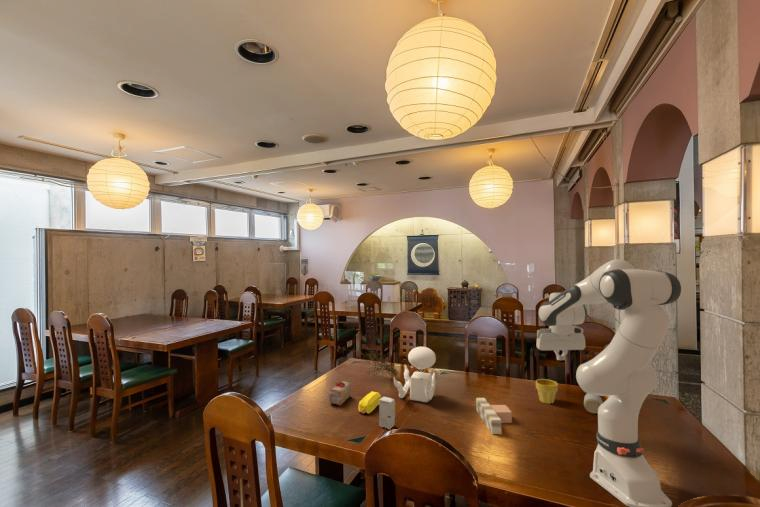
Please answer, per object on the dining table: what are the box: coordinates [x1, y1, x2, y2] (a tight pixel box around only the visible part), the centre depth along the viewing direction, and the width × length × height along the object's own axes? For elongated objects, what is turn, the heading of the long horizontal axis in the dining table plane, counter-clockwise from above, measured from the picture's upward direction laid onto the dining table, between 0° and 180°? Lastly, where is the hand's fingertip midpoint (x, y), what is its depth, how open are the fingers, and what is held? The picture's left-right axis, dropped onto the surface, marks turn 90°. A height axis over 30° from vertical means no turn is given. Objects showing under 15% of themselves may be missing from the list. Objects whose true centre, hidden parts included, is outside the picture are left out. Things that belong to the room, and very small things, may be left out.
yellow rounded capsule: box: [357, 390, 382, 414], centre depth 176 cm, size 18×7×8 cm
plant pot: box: [535, 378, 559, 405], centre depth 181 cm, size 10×10×10 cm
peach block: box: [489, 404, 513, 424], centre depth 162 cm, size 8×8×5 cm
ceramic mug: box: [583, 393, 604, 415], centre depth 167 cm, size 11×8×8 cm
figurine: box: [393, 346, 437, 403], centre depth 188 cm, size 24×20×28 cm
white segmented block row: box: [475, 397, 503, 435], centre depth 160 cm, size 24×4×6 cm, turn 0°
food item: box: [328, 381, 352, 406], centre depth 186 cm, size 14×8×10 cm, turn 162°
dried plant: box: [329, 333, 400, 378], centre depth 221 cm, size 30×31×45 cm
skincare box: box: [378, 396, 396, 430], centre depth 157 cm, size 6×4×12 cm
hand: (560, 359), depth 154 cm, fingers closed
